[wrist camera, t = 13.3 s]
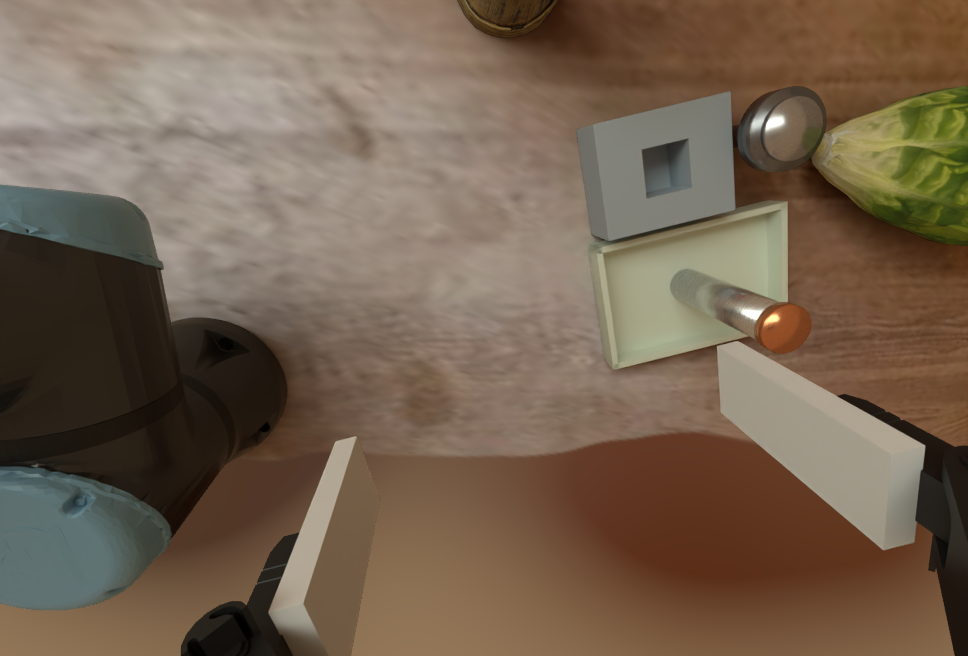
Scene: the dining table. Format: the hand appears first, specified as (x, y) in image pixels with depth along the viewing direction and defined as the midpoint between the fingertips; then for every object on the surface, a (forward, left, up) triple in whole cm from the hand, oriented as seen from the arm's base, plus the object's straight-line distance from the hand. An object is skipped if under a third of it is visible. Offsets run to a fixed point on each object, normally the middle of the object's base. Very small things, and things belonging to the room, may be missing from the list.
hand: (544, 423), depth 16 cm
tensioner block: (+18, +5, -32) cm, 37 cm away
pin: (+21, -8, -31) cm, 38 cm away
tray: (+21, -8, -32) cm, 39 cm away
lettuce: (+44, -1, -32) cm, 55 cm away
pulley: (+27, +6, -32) cm, 42 cm away
